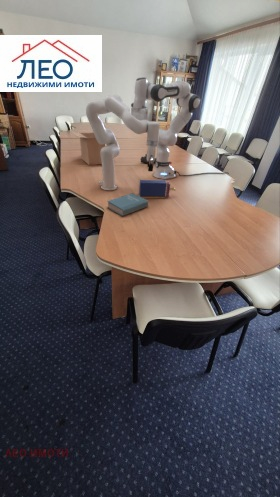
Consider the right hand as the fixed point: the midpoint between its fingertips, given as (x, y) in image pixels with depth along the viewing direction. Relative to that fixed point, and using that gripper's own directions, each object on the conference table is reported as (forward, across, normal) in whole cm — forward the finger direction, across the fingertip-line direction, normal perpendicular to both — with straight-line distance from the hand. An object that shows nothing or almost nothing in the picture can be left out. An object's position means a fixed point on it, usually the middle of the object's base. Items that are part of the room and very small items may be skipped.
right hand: (139, 126), depth 170 cm
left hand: (+22, -32, +8) cm, 40 cm away
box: (+43, +70, +14) cm, 83 cm away
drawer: (+42, -35, -1) cm, 55 cm away
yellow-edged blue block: (+43, -33, +5) cm, 54 cm away
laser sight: (+43, +44, -42) cm, 75 cm away
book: (+43, -43, +31) cm, 68 cm away
